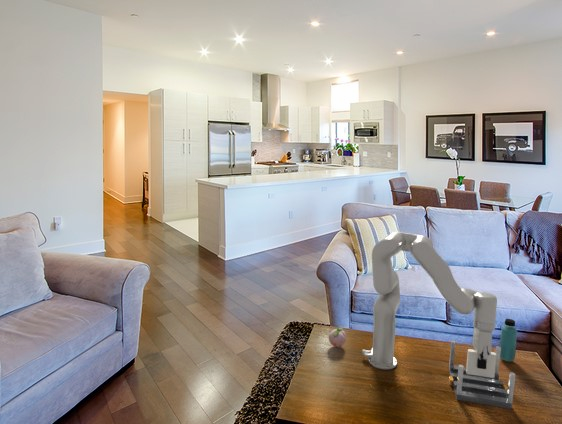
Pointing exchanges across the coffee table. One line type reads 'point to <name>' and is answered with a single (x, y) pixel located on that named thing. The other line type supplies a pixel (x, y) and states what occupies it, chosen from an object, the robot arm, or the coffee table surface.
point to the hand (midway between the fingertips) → (480, 366)
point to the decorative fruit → (337, 337)
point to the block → (473, 369)
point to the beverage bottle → (508, 340)
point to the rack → (481, 384)
